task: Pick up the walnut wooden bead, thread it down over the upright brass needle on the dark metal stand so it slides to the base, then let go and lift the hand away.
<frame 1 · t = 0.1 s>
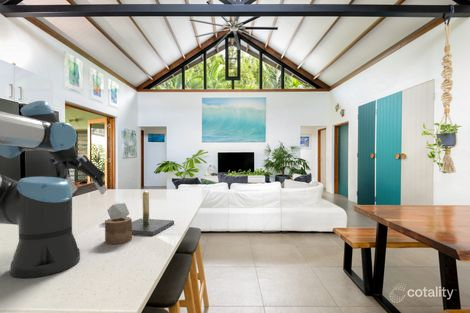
hand: (89, 191, 102), 15 cm above the kitchen island, tool tilted 35°, fingers open, 13 cm apart
bead: (118, 240, 91), on the kitchen island
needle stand: (146, 228, 106), on the kitchen island
die: (118, 221, 118), on the kitchen island
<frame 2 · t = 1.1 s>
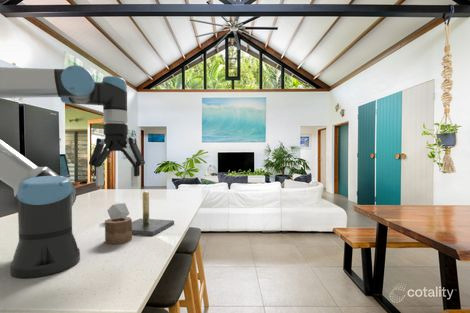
hand: (117, 185, 91), 19 cm above the kitchen island, tool pointing down, fingers open, 13 cm apart
nothing on the kitchen island moved.
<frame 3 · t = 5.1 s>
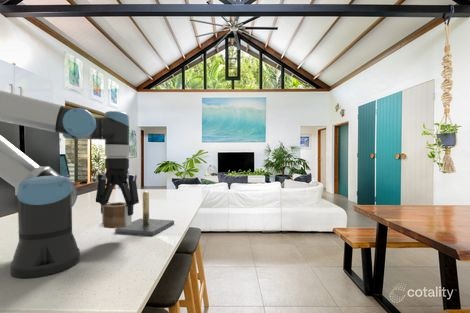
hand: (116, 223, 91), 6 cm above the kitchen island, tool pointing down, fingers closed on bead, 8 cm apart
bead: (116, 224, 91), point 5 cm above the kitchen island, touching gripper
everything else where it was.
when the fingers open (3 cm above the kitchen island, at t = 12.4 s): bead stays where it is, resting on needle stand.
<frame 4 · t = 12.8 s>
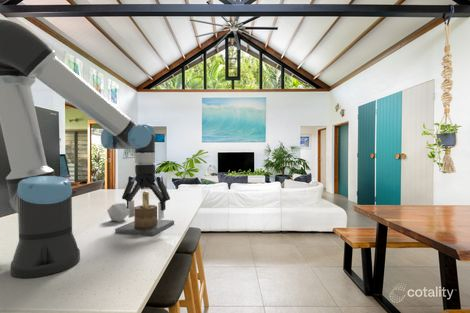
hand: (146, 217, 106), 4 cm above the kitchen island, tool pointing down, fingers open, 13 cm apart
bead: (146, 224, 105), point 1 cm above the kitchen island, touching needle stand
everything else where it was.
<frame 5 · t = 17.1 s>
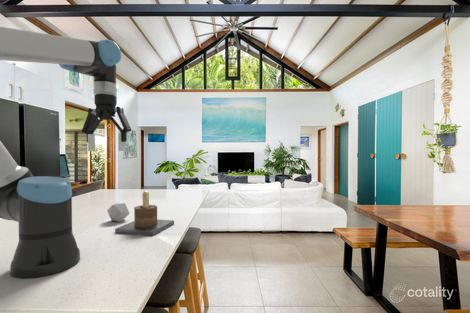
hand: (106, 151, 101), 31 cm above the kitchen island, tool pointing down, fingers open, 13 cm apart
nothing on the kitchen island moved.
at the end: bead 0.1 cm off-centre on the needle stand, point 1.5 cm above the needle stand's base; bead tilted 0°; the gripper is holding nothing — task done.
